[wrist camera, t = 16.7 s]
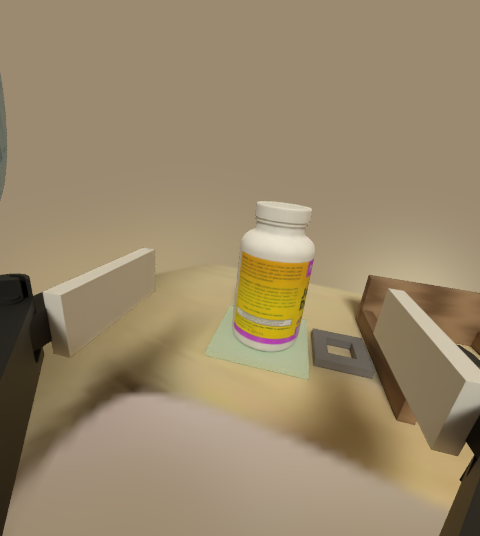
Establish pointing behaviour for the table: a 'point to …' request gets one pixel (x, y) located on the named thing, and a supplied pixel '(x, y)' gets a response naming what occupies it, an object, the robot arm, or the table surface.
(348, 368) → the hole frame
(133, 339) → the table surface
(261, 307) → the supplement bottle
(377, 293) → the cubby
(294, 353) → the mat
